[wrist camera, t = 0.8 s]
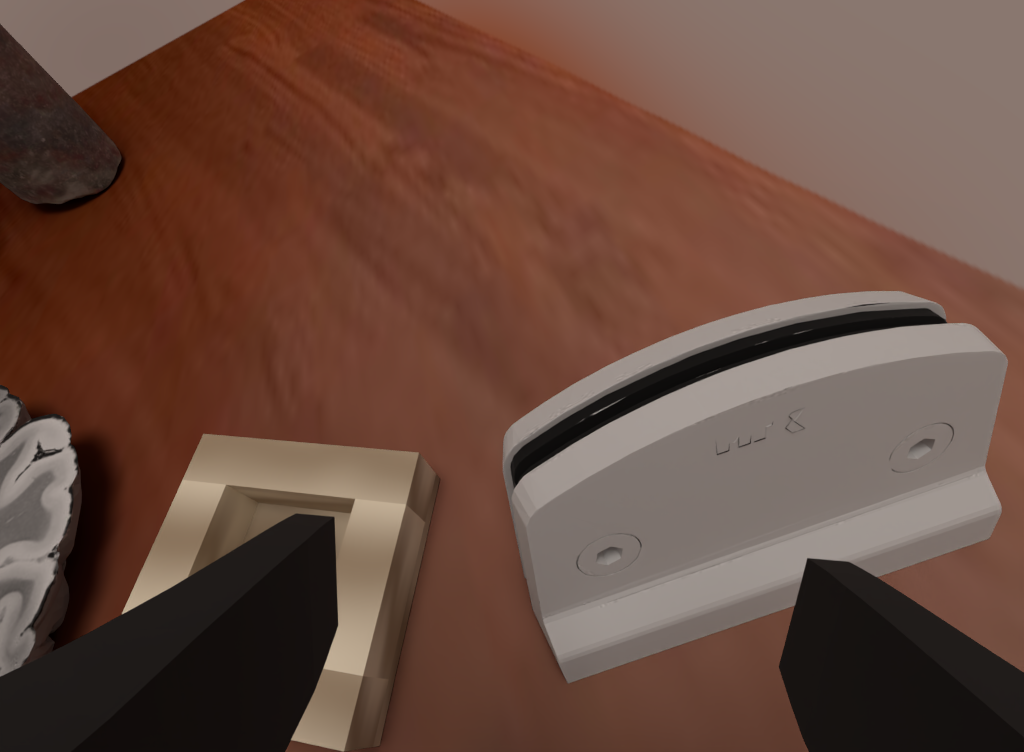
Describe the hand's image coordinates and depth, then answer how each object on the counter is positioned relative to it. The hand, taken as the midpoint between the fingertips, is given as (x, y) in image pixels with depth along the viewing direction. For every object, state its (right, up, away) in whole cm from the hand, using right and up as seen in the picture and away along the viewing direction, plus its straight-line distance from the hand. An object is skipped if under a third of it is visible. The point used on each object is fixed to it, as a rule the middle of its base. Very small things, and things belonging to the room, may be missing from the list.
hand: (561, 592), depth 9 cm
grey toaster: (+8, -2, +14) cm, 16 cm away
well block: (-10, -5, +15) cm, 19 cm away
